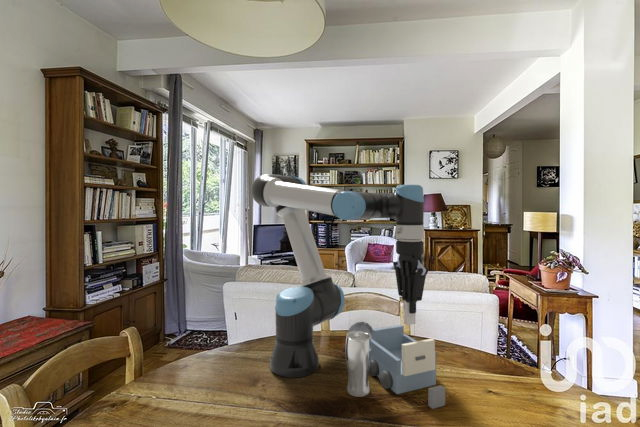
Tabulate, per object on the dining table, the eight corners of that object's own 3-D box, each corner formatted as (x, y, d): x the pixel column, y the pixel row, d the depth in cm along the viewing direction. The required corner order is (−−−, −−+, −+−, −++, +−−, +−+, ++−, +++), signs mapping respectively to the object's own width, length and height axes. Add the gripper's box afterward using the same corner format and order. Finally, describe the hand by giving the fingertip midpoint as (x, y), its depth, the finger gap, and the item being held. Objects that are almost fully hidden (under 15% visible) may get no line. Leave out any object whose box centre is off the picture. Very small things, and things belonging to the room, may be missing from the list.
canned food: (373, 360, 117) (386, 338, 115) (358, 368, 109) (372, 344, 107) (350, 338, 123) (362, 316, 121) (335, 343, 116) (347, 321, 113)
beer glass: (370, 399, 85) (370, 342, 85) (343, 396, 87) (344, 339, 86) (371, 385, 92) (372, 331, 92) (346, 382, 93) (347, 330, 93)
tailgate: (402, 374, 88) (401, 344, 88) (432, 367, 92) (431, 338, 92) (405, 376, 86) (404, 346, 87) (436, 369, 90) (435, 340, 90)
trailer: (363, 369, 101) (363, 330, 101) (407, 360, 107) (408, 323, 107) (411, 414, 79) (412, 365, 79) (463, 400, 85) (464, 354, 85)
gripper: (385, 238, 97) (385, 318, 98) (413, 242, 85) (413, 333, 86) (406, 237, 100) (406, 314, 100) (436, 241, 88) (436, 329, 88)
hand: (409, 323), depth 93 cm, fingers closed
